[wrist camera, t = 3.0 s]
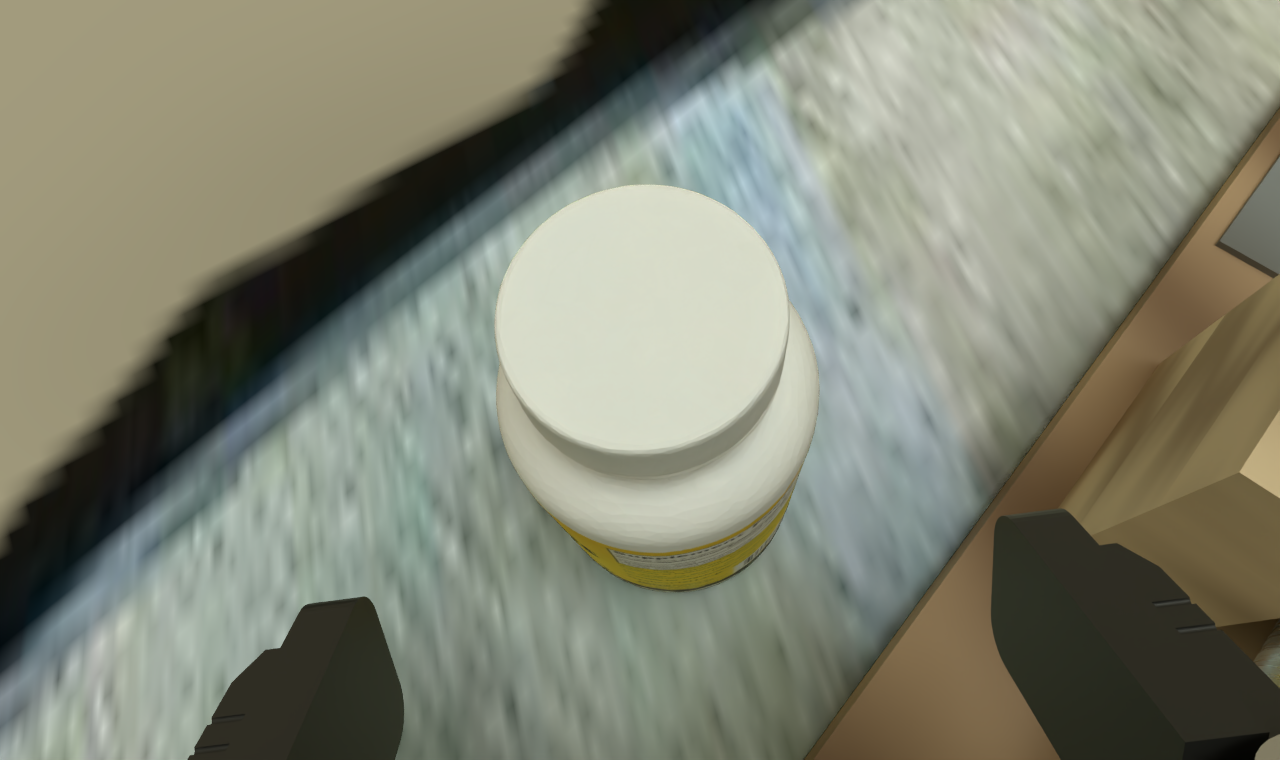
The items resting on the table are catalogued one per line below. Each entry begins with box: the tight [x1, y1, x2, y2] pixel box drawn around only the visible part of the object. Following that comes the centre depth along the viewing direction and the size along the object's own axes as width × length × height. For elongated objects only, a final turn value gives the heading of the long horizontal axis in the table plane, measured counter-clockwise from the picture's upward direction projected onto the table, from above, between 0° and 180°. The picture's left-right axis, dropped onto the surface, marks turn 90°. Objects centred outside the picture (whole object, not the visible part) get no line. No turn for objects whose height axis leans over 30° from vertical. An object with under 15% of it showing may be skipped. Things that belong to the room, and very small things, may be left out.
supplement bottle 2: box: [495, 185, 820, 592], centre depth 16 cm, size 5×5×10 cm
